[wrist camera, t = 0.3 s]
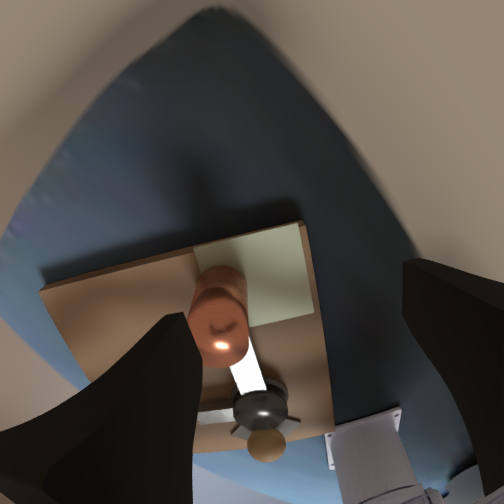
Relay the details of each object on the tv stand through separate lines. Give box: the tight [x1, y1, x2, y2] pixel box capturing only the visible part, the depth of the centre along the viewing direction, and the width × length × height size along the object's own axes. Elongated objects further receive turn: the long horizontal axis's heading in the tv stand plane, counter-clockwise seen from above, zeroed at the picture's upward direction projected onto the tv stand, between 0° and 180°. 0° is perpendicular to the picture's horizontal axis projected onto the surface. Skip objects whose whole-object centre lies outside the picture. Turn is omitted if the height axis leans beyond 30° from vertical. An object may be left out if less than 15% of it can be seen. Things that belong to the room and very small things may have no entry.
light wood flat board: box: [38, 220, 335, 462], centre depth 20 cm, size 20×19×5 cm
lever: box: [187, 265, 288, 430], centre depth 18 cm, size 14×7×5 cm, turn 14°
